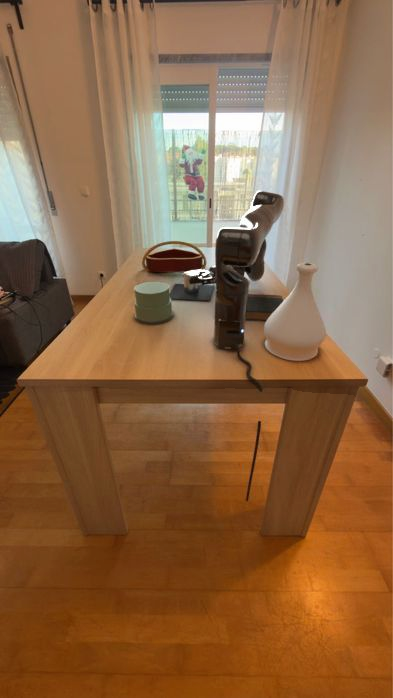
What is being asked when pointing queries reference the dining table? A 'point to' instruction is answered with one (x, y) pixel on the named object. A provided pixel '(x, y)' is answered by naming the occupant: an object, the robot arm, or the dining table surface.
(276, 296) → the book
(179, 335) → the dining table surface
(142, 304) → the green round container
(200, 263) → the decorative basket
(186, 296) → the slate mat
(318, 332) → the vase
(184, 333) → the dining table surface
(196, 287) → the steel cup
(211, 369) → the dining table surface
